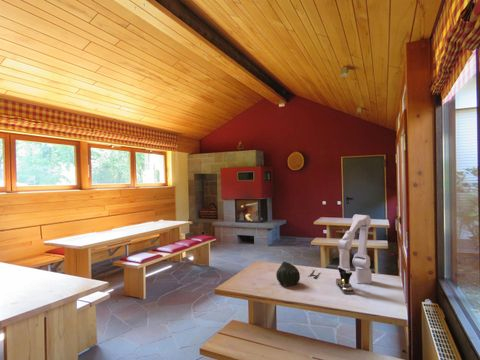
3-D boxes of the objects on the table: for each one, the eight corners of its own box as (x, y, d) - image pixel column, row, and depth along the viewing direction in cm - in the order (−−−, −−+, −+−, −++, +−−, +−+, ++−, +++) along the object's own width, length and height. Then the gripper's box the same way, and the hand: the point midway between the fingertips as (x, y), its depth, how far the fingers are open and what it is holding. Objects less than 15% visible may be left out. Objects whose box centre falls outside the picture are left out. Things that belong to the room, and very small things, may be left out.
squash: (305, 279, 187) (297, 257, 196) (283, 282, 183) (276, 260, 192) (298, 288, 197) (290, 267, 206) (277, 292, 193) (270, 270, 202)
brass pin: (346, 288, 185) (346, 278, 185) (347, 289, 183) (347, 279, 183) (342, 288, 186) (342, 278, 186) (343, 289, 183) (342, 279, 183)
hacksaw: (316, 279, 203) (316, 277, 203) (301, 277, 208) (301, 275, 208) (323, 270, 224) (323, 268, 224) (310, 268, 229) (310, 266, 229)
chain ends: (345, 284, 193) (345, 278, 193) (354, 294, 176) (354, 288, 176) (335, 284, 193) (335, 278, 193) (343, 294, 176) (343, 288, 176)
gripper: (334, 256, 192) (334, 277, 192) (341, 262, 177) (341, 285, 177) (345, 256, 191) (346, 277, 191) (353, 262, 177) (353, 285, 177)
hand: (344, 281), depth 184 cm, fingers open, 7 cm apart
